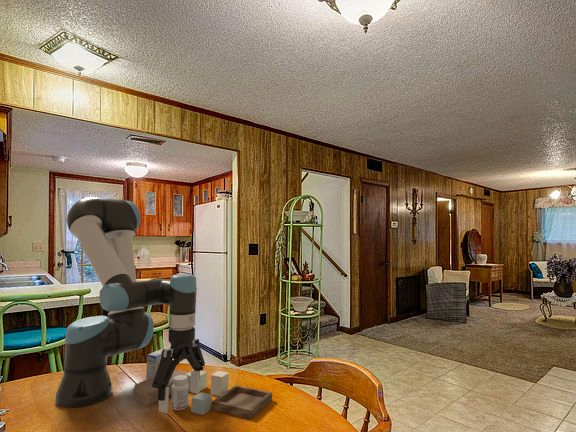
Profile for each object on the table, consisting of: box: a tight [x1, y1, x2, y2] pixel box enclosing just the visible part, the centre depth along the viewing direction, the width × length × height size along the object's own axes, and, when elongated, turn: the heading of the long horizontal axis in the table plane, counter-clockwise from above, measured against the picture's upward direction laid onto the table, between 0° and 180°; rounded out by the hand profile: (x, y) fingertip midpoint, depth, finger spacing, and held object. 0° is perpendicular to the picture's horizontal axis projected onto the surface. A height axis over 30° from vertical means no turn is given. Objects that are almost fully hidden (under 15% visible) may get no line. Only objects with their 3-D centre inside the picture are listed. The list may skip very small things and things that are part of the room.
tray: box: [211, 384, 273, 420], centre depth 107 cm, size 13×13×2 cm
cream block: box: [210, 370, 230, 397], centre depth 115 cm, size 4×4×6 cm
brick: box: [132, 369, 189, 405], centre depth 116 cm, size 17×8×5 cm, turn 148°
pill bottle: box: [170, 375, 189, 411], centre depth 106 cm, size 5×5×8 cm
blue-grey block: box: [190, 391, 213, 415], centre depth 104 cm, size 4×4×4 cm
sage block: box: [185, 370, 208, 393], centre depth 119 cm, size 5×5×5 cm
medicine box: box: [145, 348, 168, 380], centre depth 128 cm, size 8×4×9 cm, turn 158°
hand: (179, 401), depth 105 cm, fingers open, 13 cm apart
